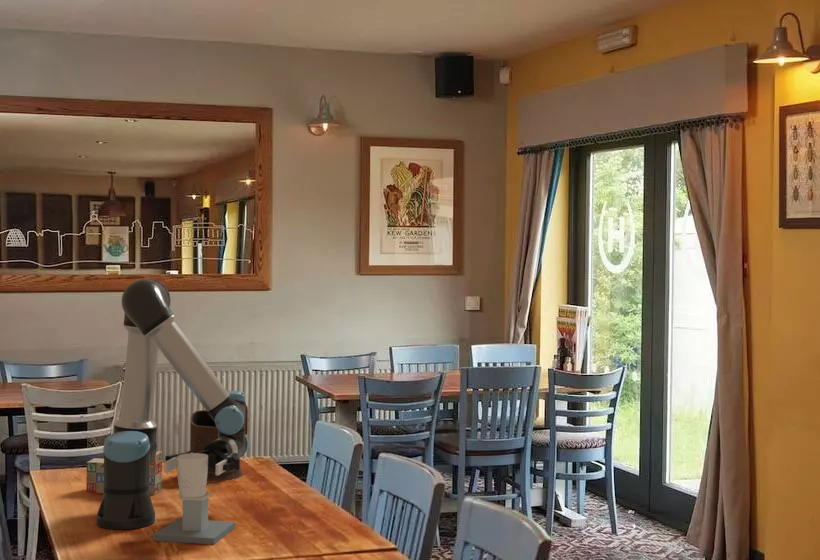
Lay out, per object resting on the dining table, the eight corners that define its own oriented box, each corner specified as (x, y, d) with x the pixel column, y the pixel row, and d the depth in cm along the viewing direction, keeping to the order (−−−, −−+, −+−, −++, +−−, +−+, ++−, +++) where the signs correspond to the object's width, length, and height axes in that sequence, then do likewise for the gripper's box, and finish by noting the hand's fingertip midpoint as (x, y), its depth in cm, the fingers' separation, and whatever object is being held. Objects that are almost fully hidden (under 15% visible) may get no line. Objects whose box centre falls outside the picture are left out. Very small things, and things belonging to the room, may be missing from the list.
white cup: (190, 500, 259) (191, 460, 259) (170, 495, 264) (170, 456, 264) (214, 494, 265) (214, 455, 265) (193, 490, 270) (194, 452, 270)
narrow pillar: (153, 540, 258) (153, 500, 258) (177, 524, 274) (177, 486, 273) (214, 544, 255) (214, 504, 255) (235, 527, 271) (235, 489, 271)
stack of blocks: (85, 492, 309) (86, 451, 308) (94, 488, 315) (94, 448, 314) (155, 495, 306) (155, 454, 306) (162, 490, 313) (162, 450, 312)
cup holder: (218, 467, 348) (219, 393, 347) (267, 477, 333) (267, 400, 332) (173, 475, 334) (174, 398, 333) (222, 487, 318) (223, 406, 318)
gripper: (263, 468, 280) (238, 485, 259) (176, 464, 284) (144, 481, 263) (263, 441, 280) (238, 456, 259) (176, 437, 284) (144, 451, 263)
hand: (191, 468), depth 261 cm, fingers open, 13 cm apart
